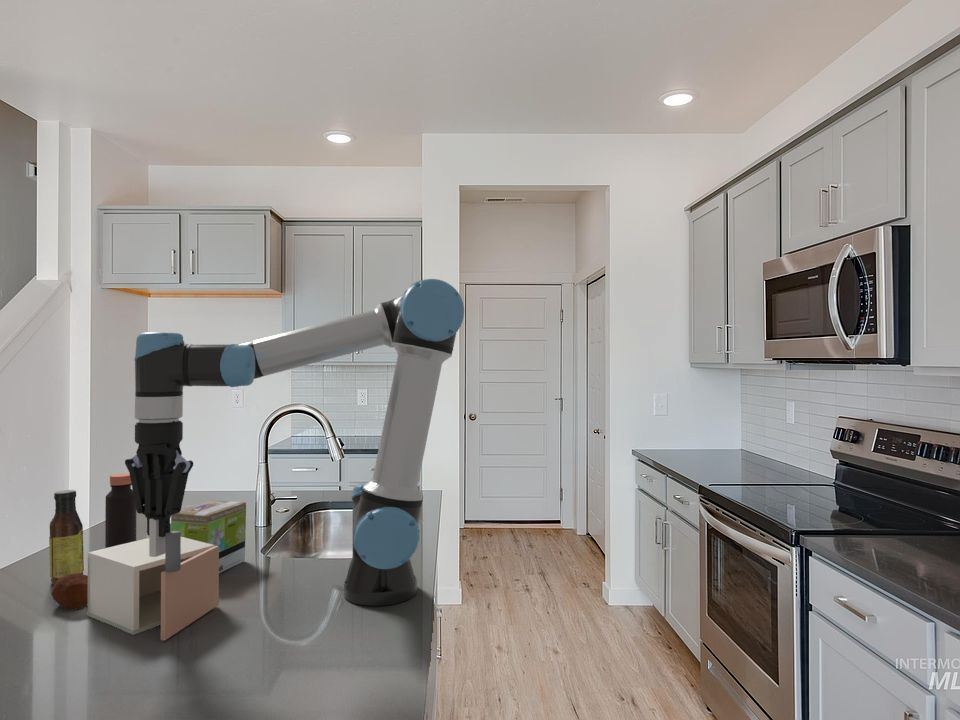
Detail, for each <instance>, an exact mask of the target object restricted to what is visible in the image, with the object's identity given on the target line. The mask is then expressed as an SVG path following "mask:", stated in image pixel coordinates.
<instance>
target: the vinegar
mask: <svg viewBox="0 0 960 720" xmlns="http://www.w3.org/2000/svg"><path fill="white" fill-rule="evenodd" d="M109 487H110V488H111V489H110V491H109V492H108V493H107V494H106V495H105V506H104V507H105V512H104V513H105V515H104V516H105V525H104V527H105V529H104V531H105V534H104V535H105V540H104V541H105V543H104V546H105V548H109V547H113V546H117V545H121V544H126V543H130V542H134V541H137V510H136V505H135V499H134V494H133V489H132V484H131V478H130V473H116V474H112V475H109ZM105 548H104V549H105Z"/></svg>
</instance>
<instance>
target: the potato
mask: <svg viewBox="0 0 960 720" xmlns="http://www.w3.org/2000/svg"><path fill="white" fill-rule="evenodd" d="M51 596H52V597H51V598H52V599H53V600H54V602H56V604H58V605H59V606H61V607H62V608H64V609H67V610H72V609H73V611H74V610H79V609H81V608H84V607H86V606H88V574H87V575H86V574H84V573H83V574H80V573H76V574H69V575H66V576H63V577H61V578H60V579H58V580H57V581H56V582H55V584H54V585H53V586H52V590H51Z"/></svg>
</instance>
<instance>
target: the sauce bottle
mask: <svg viewBox="0 0 960 720" xmlns="http://www.w3.org/2000/svg"><path fill="white" fill-rule="evenodd" d="M53 495H54V496H53V499H54V501H55V506H54V507H55V510H54V512H55V513H54V515H53V517H52V519H51V521H50V522H49V537H48V538H49V539H48V542H49V546H48V547H49V578H50V582H51V583H50V584H52V585H53V586H54V584H55V582H56V581H57V580H58V579H60V578H61V577H63V576H66V575H69V574H76V573H80V574H84V571H85V569H84V568H85V563H84V562H85V561H84V559H85V558H84V527H83V526H84V525H83V523H82V520H81V518H80V516H79V514H78V511H77V507H76V505H77V504H76V497H77V490H75V489H68V490H67V489H65V490H64V489H63V490H60V491H55V492H54V493H53Z"/></svg>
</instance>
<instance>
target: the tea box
mask: <svg viewBox="0 0 960 720" xmlns="http://www.w3.org/2000/svg"><path fill="white" fill-rule="evenodd" d="M194 505H195V506H192V507H189V508H186V509H183V510H181V511H180V513H177V514H174V515H172V516H171V531H180V532H181V537H184V538H188V539H192V540H196V541H200V542H204V543H208V544H212V545H215V546H219V574H221V573H224V572H225V571H227V570H229V569H231V568H233V567H236V566H238V565H239V564H241V563H244V562H245V559H246V529H247V528H246V527H247V526H246V525H247V519H246V518H247V517H246V516H247V502H245V501H234V500H233V501H231V500H215V499H214V500H212V499H211V500H208V501H206V502H203V503H198V504H194ZM171 531H170V532H171Z"/></svg>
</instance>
